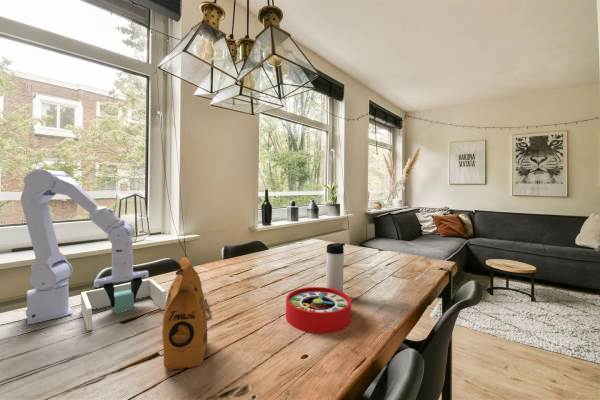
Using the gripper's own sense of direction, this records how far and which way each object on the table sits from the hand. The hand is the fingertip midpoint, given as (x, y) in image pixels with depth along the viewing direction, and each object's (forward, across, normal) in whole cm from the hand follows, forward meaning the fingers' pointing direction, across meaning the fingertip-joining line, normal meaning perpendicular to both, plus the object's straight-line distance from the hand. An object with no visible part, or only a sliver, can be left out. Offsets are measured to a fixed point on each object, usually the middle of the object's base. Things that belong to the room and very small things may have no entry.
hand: (123, 303), depth 88 cm
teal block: (+2, 0, 0) cm, 2 cm away
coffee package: (+2, +6, -38) cm, 38 cm away
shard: (+2, +15, -18) cm, 24 cm away
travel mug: (+2, +58, -40) cm, 71 cm away
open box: (+2, 0, -2) cm, 2 cm away
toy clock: (+2, +43, -46) cm, 63 cm away
